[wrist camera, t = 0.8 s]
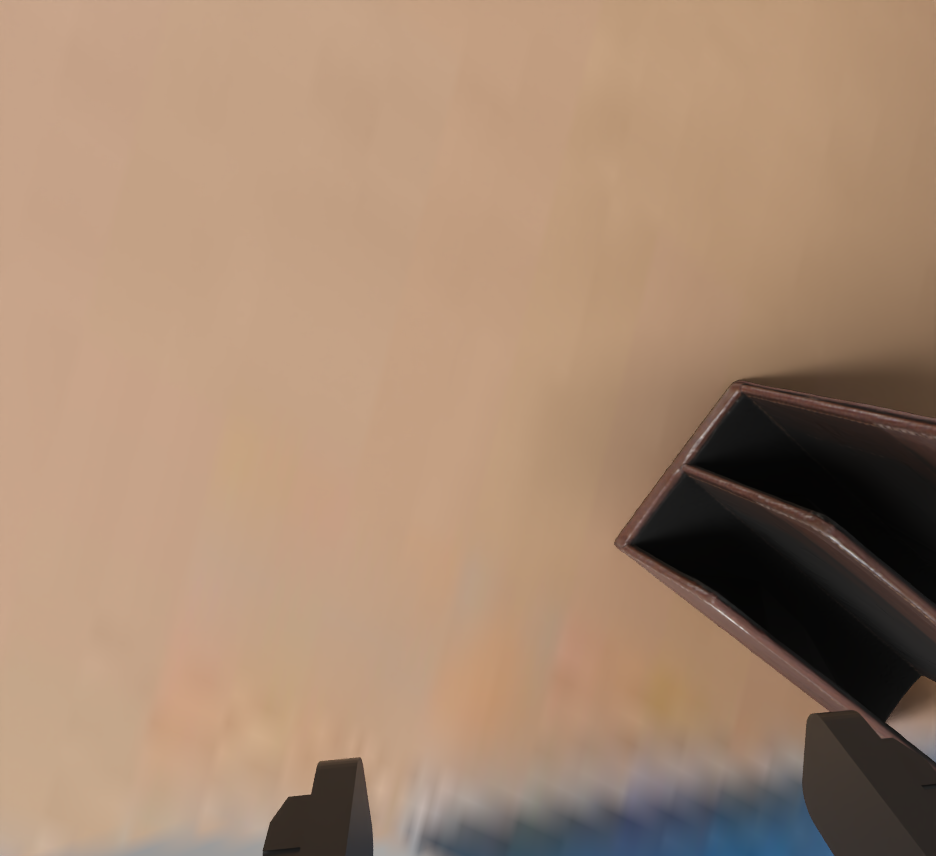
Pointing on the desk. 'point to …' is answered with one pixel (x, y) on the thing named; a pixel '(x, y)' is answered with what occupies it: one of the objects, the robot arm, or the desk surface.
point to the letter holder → (806, 541)
